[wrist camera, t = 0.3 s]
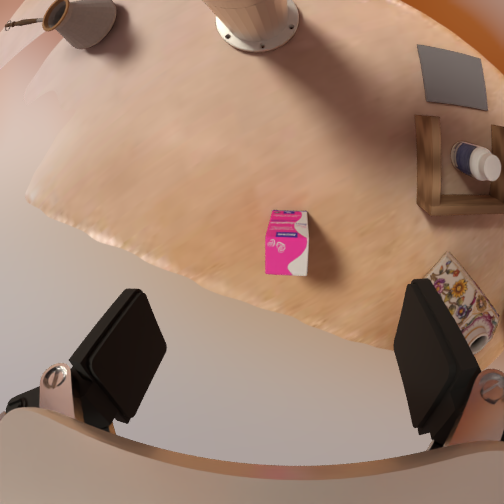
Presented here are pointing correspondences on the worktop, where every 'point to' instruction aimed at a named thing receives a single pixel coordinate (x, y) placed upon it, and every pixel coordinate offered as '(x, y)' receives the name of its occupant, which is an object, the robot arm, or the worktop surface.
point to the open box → (429, 174)
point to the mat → (452, 78)
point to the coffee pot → (77, 20)
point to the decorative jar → (464, 302)
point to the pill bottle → (475, 161)
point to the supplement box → (287, 243)
